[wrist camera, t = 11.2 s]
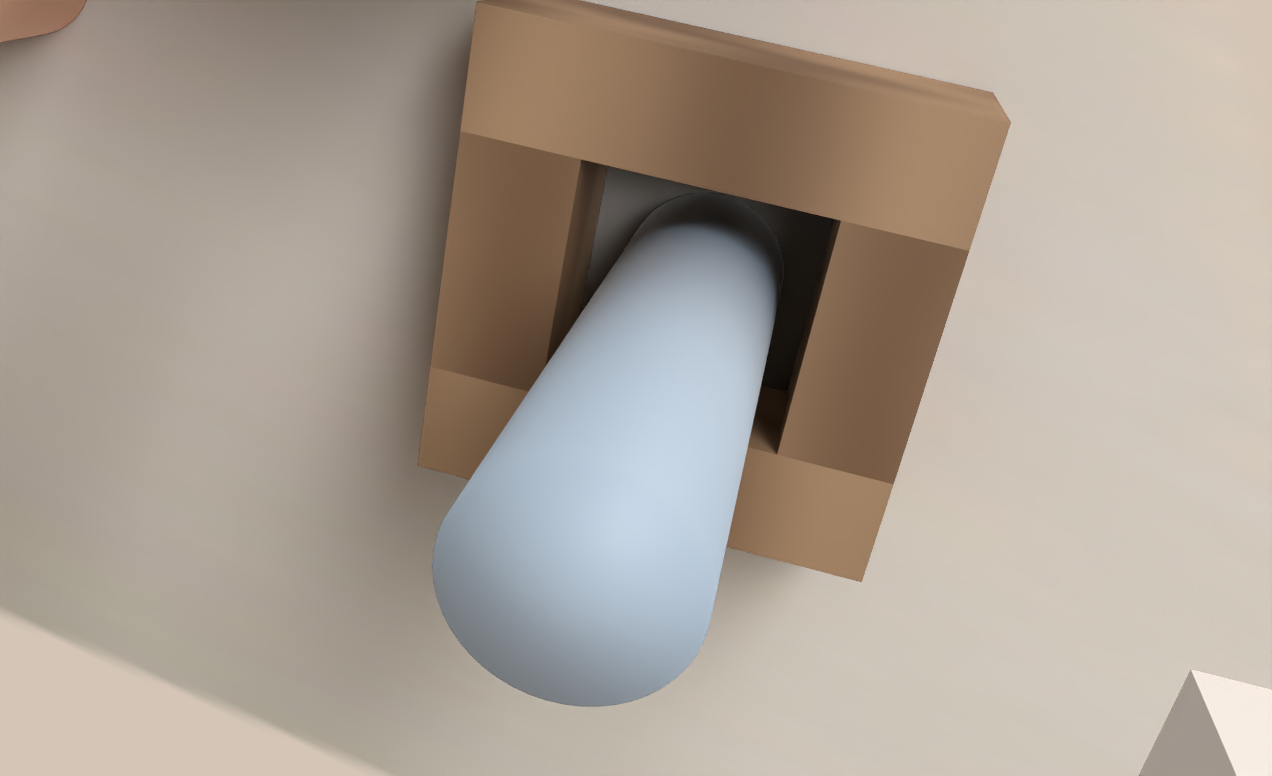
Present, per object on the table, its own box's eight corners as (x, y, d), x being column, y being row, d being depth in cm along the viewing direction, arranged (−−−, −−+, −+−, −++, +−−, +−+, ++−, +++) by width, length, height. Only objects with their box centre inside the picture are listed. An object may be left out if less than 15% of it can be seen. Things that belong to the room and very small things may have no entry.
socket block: (464, 405, 26) (417, 465, 23) (524, -13, 22) (476, 2, 20) (862, 507, 25) (861, 582, 23) (992, 92, 22) (1010, 122, 19)
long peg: (614, 322, 25) (416, 662, 14) (645, 175, 23) (452, 426, 13) (762, 360, 25) (677, 738, 14) (801, 214, 23) (742, 505, 12)
